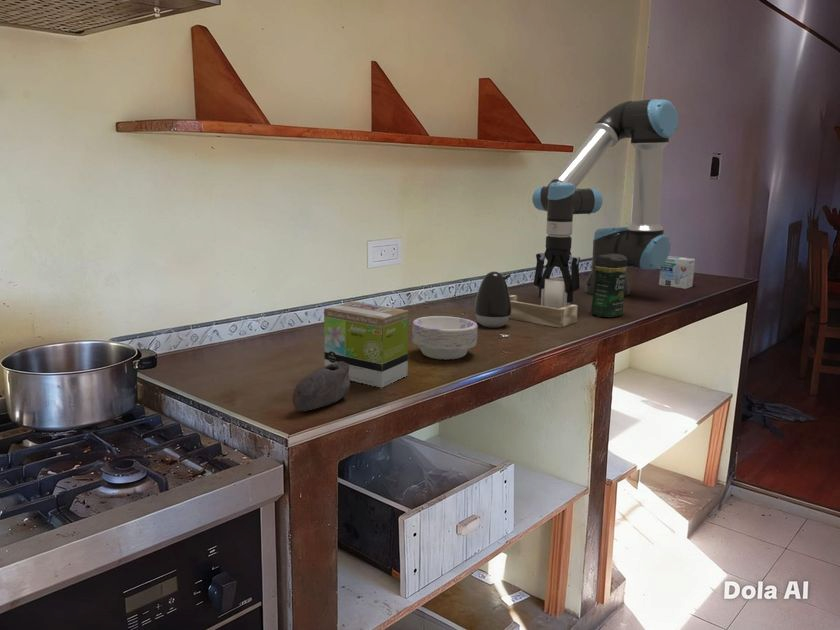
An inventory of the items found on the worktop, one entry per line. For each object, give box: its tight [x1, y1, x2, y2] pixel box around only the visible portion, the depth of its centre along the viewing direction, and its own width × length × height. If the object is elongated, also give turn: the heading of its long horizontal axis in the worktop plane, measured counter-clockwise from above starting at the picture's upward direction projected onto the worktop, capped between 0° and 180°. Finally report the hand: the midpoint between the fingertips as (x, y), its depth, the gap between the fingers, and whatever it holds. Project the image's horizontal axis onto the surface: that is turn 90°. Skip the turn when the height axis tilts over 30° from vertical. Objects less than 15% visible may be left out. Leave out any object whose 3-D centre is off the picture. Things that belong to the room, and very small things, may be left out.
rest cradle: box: [509, 294, 578, 329], centre depth 204 cm, size 10×22×5 cm, turn 50°
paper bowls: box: [411, 315, 479, 361], centre depth 164 cm, size 15×15×8 cm
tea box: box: [323, 300, 410, 388], centre depth 145 cm, size 15×10×15 cm, turn 58°
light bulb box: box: [658, 255, 696, 290], centre depth 264 cm, size 11×7×11 cm, turn 49°
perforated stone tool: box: [292, 361, 351, 412], centre depth 129 cm, size 15×5×7 cm, turn 146°
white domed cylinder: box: [544, 277, 566, 308], centre depth 212 cm, size 7×7×10 cm
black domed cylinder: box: [473, 271, 511, 329], centre depth 194 cm, size 10×10×15 cm
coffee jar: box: [590, 254, 628, 318], centre depth 210 cm, size 10×8×19 cm
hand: (554, 311), depth 213 cm, fingers closed on white domed cylinder, 7 cm apart
